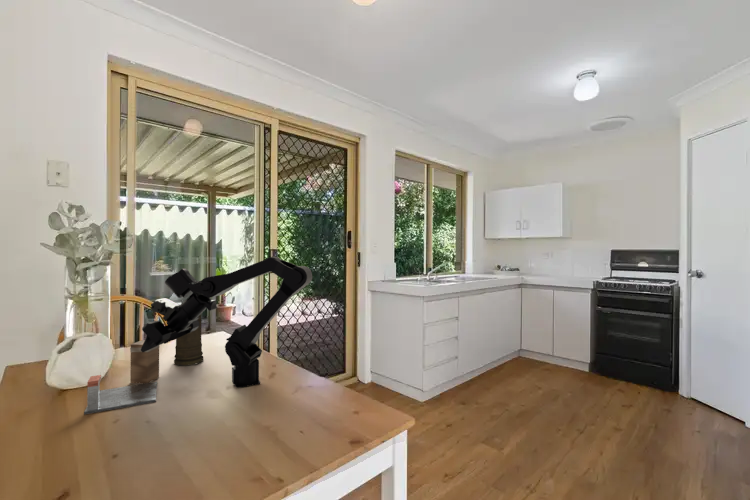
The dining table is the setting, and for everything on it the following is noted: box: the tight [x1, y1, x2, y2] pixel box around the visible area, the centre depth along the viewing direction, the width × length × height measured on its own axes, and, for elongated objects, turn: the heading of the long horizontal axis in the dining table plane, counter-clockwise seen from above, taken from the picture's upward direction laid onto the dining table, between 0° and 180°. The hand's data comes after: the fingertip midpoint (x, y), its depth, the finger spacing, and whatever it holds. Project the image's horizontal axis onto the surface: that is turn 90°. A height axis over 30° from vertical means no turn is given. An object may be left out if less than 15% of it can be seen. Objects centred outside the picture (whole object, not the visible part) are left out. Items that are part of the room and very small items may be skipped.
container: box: [173, 312, 204, 367], centre depth 121 cm, size 9×9×18 cm
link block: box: [129, 339, 160, 384], centre depth 104 cm, size 5×5×11 cm
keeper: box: [83, 374, 158, 416], centre depth 92 cm, size 14×14×7 cm
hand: (153, 346), depth 104 cm, fingers open, 9 cm apart
